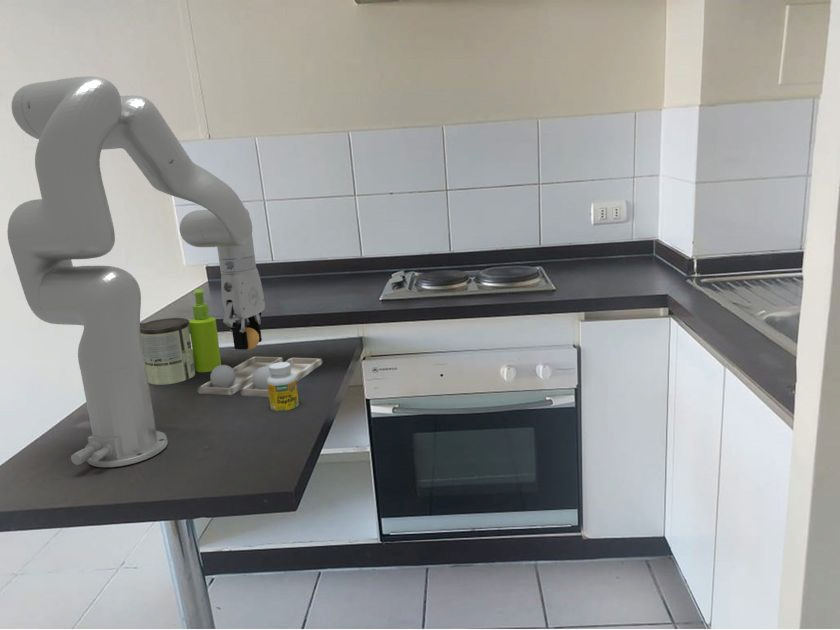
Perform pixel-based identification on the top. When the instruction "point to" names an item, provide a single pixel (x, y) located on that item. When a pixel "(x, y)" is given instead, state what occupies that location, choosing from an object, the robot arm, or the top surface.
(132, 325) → the robot arm
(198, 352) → the soap dispenser
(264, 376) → the grey ball front
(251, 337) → the orange ball
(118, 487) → the top surface
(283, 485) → the top surface
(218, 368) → the grey ball back
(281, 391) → the supplement bottle
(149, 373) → the coffee can
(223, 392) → the trough board
